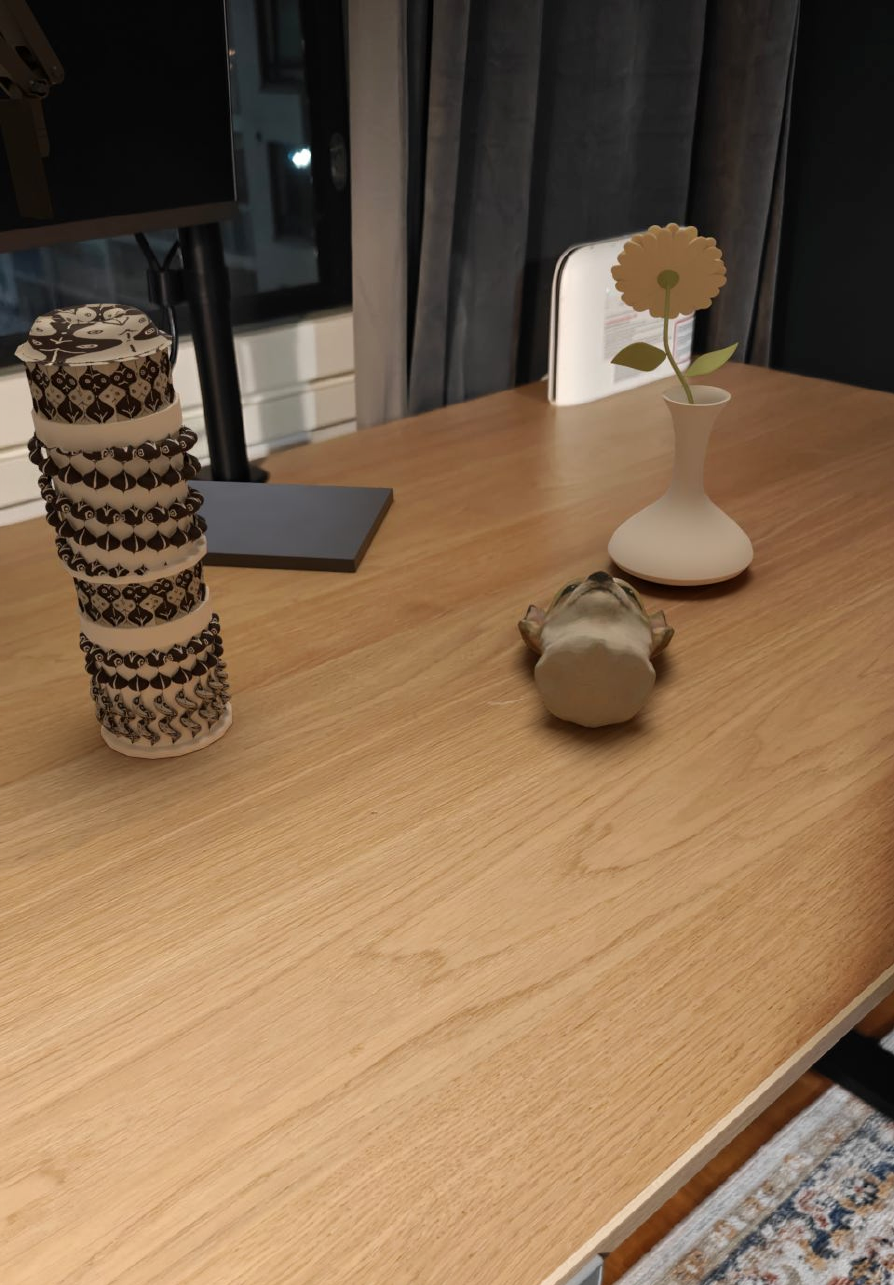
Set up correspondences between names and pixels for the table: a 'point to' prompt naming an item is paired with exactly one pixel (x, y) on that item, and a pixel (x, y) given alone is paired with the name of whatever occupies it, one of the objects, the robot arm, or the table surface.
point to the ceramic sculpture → (595, 650)
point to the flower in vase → (678, 417)
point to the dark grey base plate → (290, 524)
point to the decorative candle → (128, 526)
